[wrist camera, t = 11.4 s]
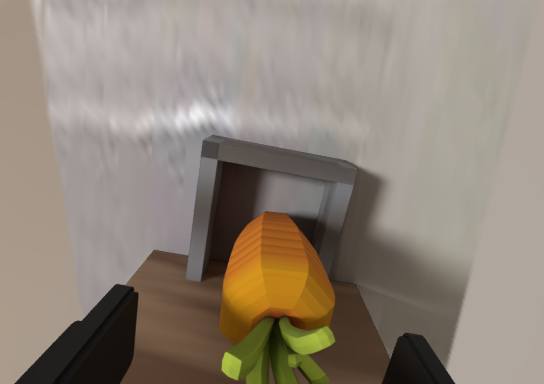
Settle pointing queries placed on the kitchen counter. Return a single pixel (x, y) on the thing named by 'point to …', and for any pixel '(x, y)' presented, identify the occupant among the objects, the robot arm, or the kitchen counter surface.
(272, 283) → the carrot
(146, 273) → the wall holder
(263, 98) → the kitchen counter surface
